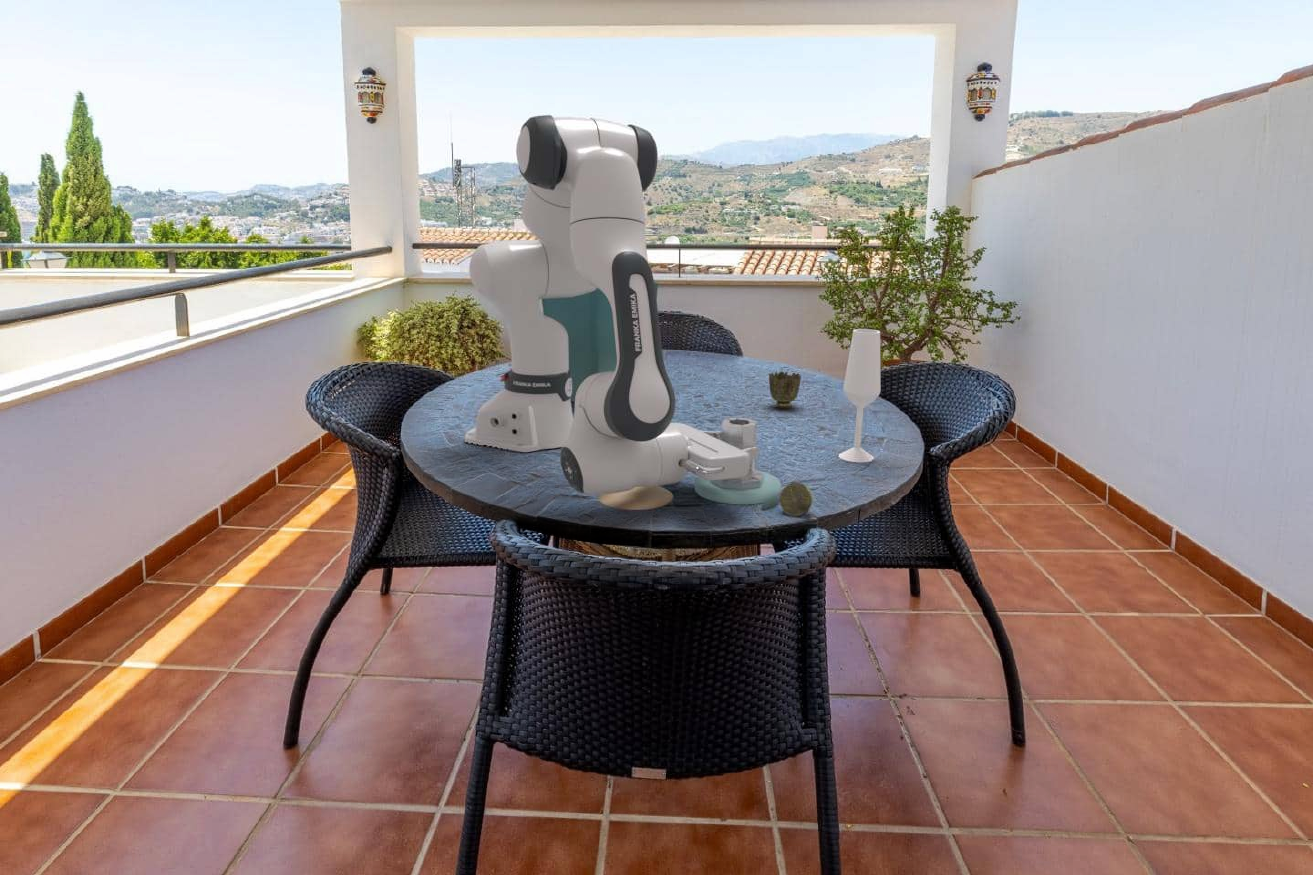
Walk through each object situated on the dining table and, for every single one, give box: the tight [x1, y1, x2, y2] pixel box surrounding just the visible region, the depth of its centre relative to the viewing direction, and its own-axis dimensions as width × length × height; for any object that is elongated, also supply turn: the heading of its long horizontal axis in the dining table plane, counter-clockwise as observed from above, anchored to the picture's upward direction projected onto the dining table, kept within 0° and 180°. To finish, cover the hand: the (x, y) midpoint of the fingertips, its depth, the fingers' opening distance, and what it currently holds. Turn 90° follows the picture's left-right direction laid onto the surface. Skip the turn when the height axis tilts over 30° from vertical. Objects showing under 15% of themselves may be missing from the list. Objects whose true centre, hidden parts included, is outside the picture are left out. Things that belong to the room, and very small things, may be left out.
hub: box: [694, 470, 782, 511], centre depth 135 cm, size 14×14×6 cm
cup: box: [768, 370, 802, 410], centre depth 193 cm, size 8×7×8 cm
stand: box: [597, 486, 674, 511], centre depth 132 cm, size 12×12×1 cm
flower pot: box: [541, 281, 659, 403], centre depth 194 cm, size 20×20×28 cm
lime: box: [779, 481, 813, 517], centre depth 128 cm, size 4×5×5 cm
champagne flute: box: [838, 328, 882, 463], centre depth 154 cm, size 7×7×24 cm
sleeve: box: [710, 417, 764, 491], centre depth 133 cm, size 8×8×10 cm
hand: (739, 443), depth 133 cm, fingers open, 8 cm apart
